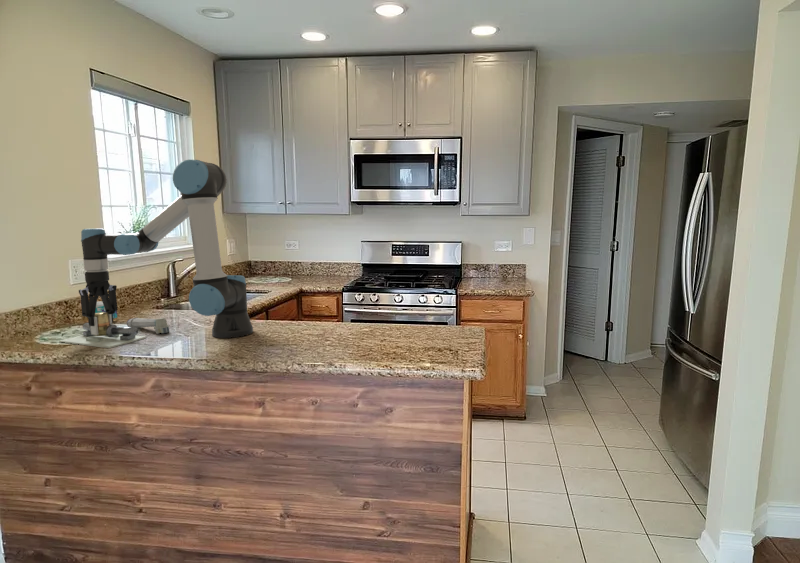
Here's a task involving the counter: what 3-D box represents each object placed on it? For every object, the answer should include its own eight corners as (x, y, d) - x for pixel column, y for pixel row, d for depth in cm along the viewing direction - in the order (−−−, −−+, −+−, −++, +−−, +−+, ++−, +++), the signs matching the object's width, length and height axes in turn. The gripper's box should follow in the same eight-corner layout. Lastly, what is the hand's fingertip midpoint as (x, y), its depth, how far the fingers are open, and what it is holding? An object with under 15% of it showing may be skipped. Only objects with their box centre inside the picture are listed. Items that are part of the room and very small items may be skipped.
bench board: (145, 338, 185) (145, 334, 185) (109, 348, 171) (109, 343, 171) (97, 333, 195) (96, 329, 194) (59, 342, 181) (58, 338, 181)
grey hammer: (136, 317, 207) (170, 314, 194) (139, 332, 208) (173, 331, 194) (124, 319, 203) (158, 316, 190) (126, 335, 203) (160, 333, 190)
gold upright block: (104, 332, 186) (102, 311, 185) (113, 333, 184) (111, 312, 183) (91, 335, 182) (89, 314, 180) (100, 336, 179) (98, 315, 178)
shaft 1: (105, 336, 187) (104, 322, 186) (92, 338, 183) (90, 324, 182) (94, 332, 193) (92, 319, 192) (80, 335, 189) (79, 321, 188)
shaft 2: (106, 340, 180) (105, 326, 180) (115, 337, 185) (114, 323, 184) (132, 340, 179) (131, 326, 178) (140, 337, 184) (139, 323, 183)
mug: (98, 319, 223) (96, 301, 221) (122, 319, 221) (120, 301, 220) (84, 323, 215) (82, 304, 213) (108, 323, 213) (107, 304, 212)
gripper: (111, 267, 189) (116, 326, 192) (65, 273, 173) (71, 337, 176) (125, 268, 187) (130, 328, 190) (79, 273, 170) (86, 339, 173)
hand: (102, 332), depth 183 cm, fingers closed on gold upright block, 5 cm apart
